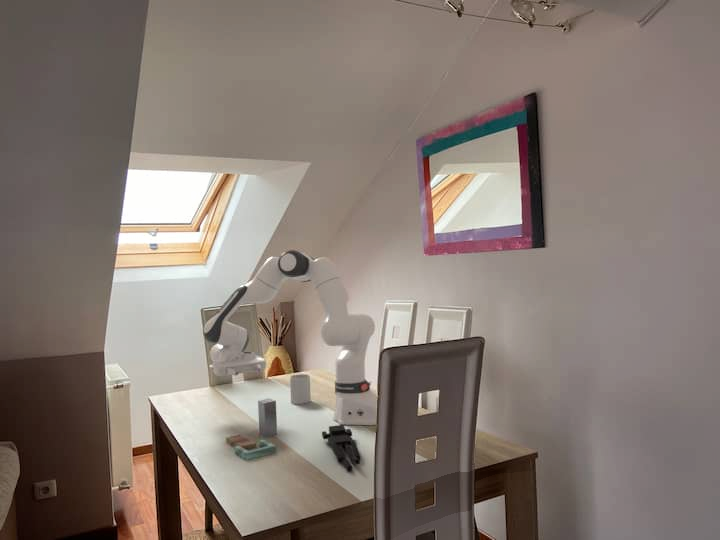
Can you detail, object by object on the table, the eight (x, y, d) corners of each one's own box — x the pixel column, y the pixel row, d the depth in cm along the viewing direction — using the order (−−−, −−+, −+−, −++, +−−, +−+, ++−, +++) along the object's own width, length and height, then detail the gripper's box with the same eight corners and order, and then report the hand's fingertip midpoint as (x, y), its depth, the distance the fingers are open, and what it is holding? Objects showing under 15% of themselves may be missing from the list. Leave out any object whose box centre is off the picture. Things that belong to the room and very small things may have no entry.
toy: (370, 474, 155) (350, 437, 184) (370, 458, 154) (349, 423, 184) (337, 478, 153) (322, 440, 182) (337, 461, 152) (321, 426, 182)
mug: (313, 402, 231) (312, 377, 230) (293, 405, 228) (292, 379, 228) (306, 396, 242) (305, 371, 242) (287, 398, 239) (286, 374, 239)
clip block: (259, 434, 190) (258, 400, 190) (270, 432, 193) (269, 398, 193) (265, 438, 187) (264, 403, 186) (277, 435, 189) (275, 400, 189)
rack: (219, 443, 182) (219, 437, 182) (246, 437, 188) (246, 431, 188) (247, 460, 166) (246, 453, 166) (275, 452, 172) (275, 445, 172)
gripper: (207, 357, 206) (221, 366, 195) (257, 351, 218) (273, 360, 207) (207, 373, 207) (221, 383, 196) (256, 367, 219) (272, 376, 208)
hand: (248, 371), depth 202 cm, fingers open, 8 cm apart
